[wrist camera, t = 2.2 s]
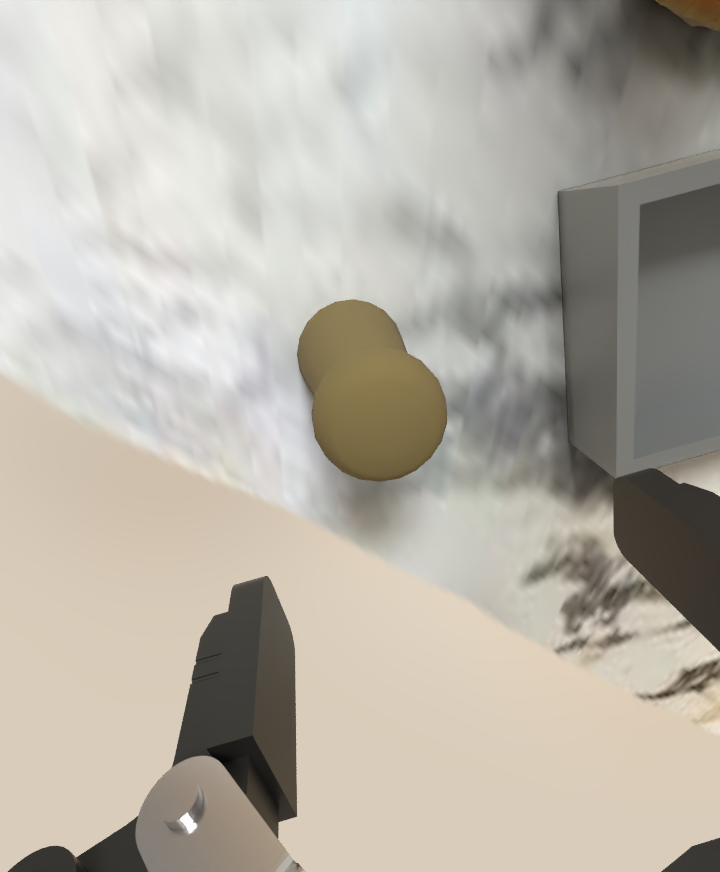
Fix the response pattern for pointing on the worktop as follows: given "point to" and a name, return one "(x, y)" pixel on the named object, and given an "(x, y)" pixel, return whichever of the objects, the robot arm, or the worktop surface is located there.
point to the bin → (643, 314)
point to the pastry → (696, 12)
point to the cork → (369, 393)
